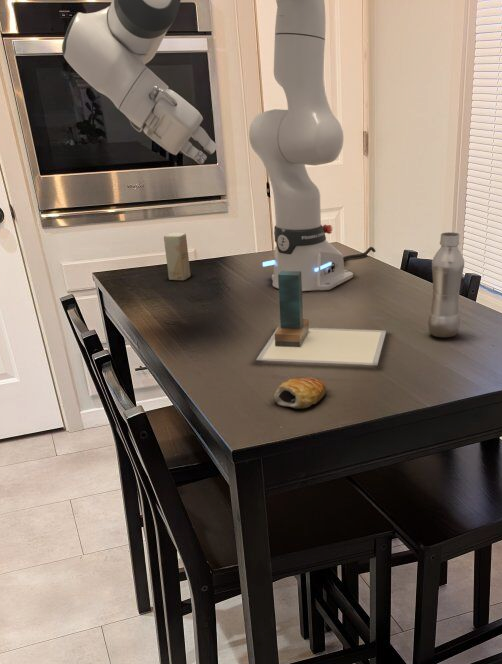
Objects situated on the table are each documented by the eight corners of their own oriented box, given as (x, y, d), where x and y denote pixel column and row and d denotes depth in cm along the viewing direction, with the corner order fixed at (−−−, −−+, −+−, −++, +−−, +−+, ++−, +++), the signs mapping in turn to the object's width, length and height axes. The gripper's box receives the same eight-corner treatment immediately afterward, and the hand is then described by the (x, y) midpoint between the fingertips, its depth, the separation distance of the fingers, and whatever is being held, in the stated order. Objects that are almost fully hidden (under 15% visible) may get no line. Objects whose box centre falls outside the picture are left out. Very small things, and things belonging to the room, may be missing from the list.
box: (183, 281, 188) (178, 236, 182) (168, 280, 189) (162, 235, 183) (191, 275, 192) (186, 232, 186) (176, 275, 193) (170, 231, 187)
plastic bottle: (461, 332, 151) (470, 231, 140) (455, 342, 145) (463, 238, 135) (431, 329, 152) (437, 230, 142) (424, 339, 147) (429, 236, 136)
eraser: (275, 346, 142) (271, 279, 135) (285, 330, 150) (282, 266, 144) (300, 347, 141) (297, 279, 135) (308, 330, 150) (307, 266, 143)
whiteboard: (255, 364, 136) (255, 359, 136) (278, 330, 153) (278, 326, 152) (377, 369, 133) (377, 364, 133) (386, 334, 150) (386, 330, 149)
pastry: (304, 386, 127) (304, 365, 125) (336, 394, 123) (336, 373, 121) (270, 404, 120) (269, 382, 118) (303, 414, 117) (302, 392, 115)
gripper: (165, 68, 121) (231, 129, 127) (149, 102, 139) (207, 153, 146) (144, 99, 121) (211, 158, 127) (131, 128, 139) (190, 179, 145)
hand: (209, 156), depth 136 cm, fingers open, 8 cm apart
